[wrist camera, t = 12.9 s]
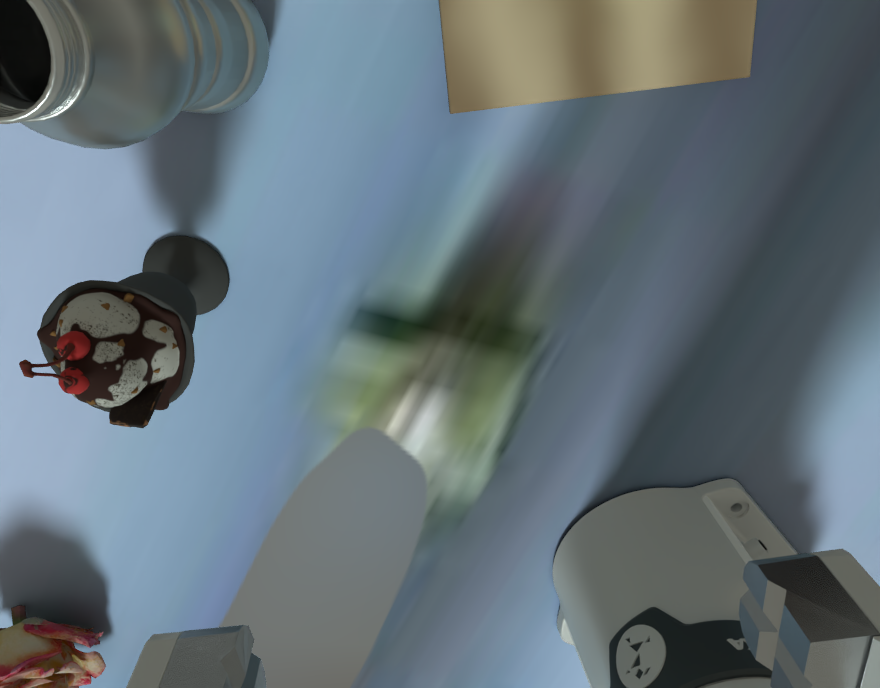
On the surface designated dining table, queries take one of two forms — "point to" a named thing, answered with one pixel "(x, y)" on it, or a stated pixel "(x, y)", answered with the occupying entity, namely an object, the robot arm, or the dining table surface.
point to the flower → (46, 654)
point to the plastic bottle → (125, 65)
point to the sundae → (133, 331)
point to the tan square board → (588, 47)
